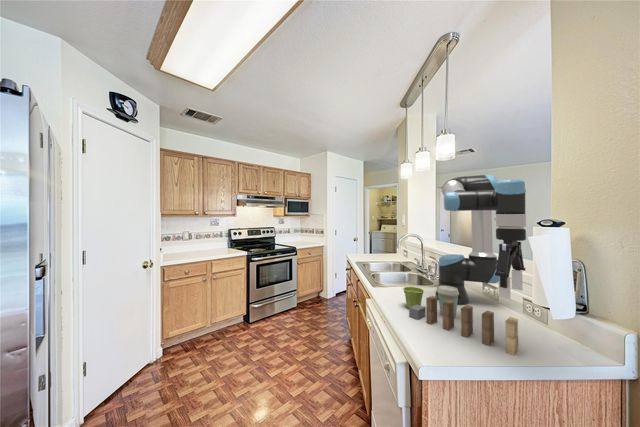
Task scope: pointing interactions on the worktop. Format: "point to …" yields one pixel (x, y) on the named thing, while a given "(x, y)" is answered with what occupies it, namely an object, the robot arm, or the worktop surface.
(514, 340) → the tile
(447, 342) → the worktop surface
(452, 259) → the robot arm
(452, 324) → the tile
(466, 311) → the tile
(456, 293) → the coffee cup
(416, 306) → the block
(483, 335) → the tile
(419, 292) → the plant pot
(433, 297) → the tile
